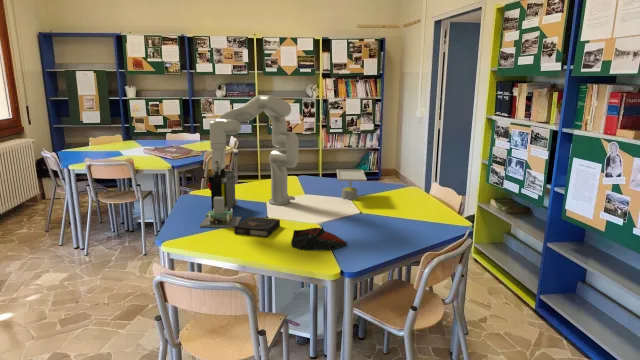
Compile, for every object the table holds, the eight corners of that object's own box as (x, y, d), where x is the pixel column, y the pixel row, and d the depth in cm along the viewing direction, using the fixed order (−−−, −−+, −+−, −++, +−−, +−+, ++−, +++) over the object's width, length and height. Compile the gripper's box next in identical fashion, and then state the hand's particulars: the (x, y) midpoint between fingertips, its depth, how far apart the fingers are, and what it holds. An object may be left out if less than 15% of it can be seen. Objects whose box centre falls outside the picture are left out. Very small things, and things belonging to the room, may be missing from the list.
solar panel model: (365, 204, 257) (366, 179, 254) (336, 203, 257) (337, 178, 254) (362, 192, 284) (362, 169, 281) (335, 191, 284) (336, 169, 281)
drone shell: (285, 246, 191) (285, 229, 190) (312, 234, 207) (313, 218, 205) (322, 258, 179) (323, 240, 177) (349, 244, 194) (350, 228, 192)
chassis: (241, 218, 227) (241, 207, 225) (236, 227, 213) (235, 216, 212) (207, 218, 227) (206, 207, 225) (199, 227, 213) (199, 215, 212)
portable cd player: (234, 235, 204) (234, 227, 204) (249, 223, 221) (249, 216, 220) (266, 238, 200) (266, 230, 199) (279, 227, 216) (279, 219, 215)
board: (232, 213, 223) (231, 196, 220) (229, 217, 216) (229, 199, 214) (209, 213, 222) (208, 195, 220) (205, 217, 216) (204, 199, 213)
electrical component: (226, 213, 235) (224, 177, 230) (208, 212, 237) (207, 176, 232) (238, 204, 252) (237, 171, 247) (222, 203, 254) (220, 170, 249)
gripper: (214, 143, 220) (216, 176, 224) (206, 148, 203) (207, 184, 207) (229, 143, 220) (230, 176, 224) (222, 149, 203) (223, 184, 207)
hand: (219, 180), depth 215 cm, fingers open, 9 cm apart
